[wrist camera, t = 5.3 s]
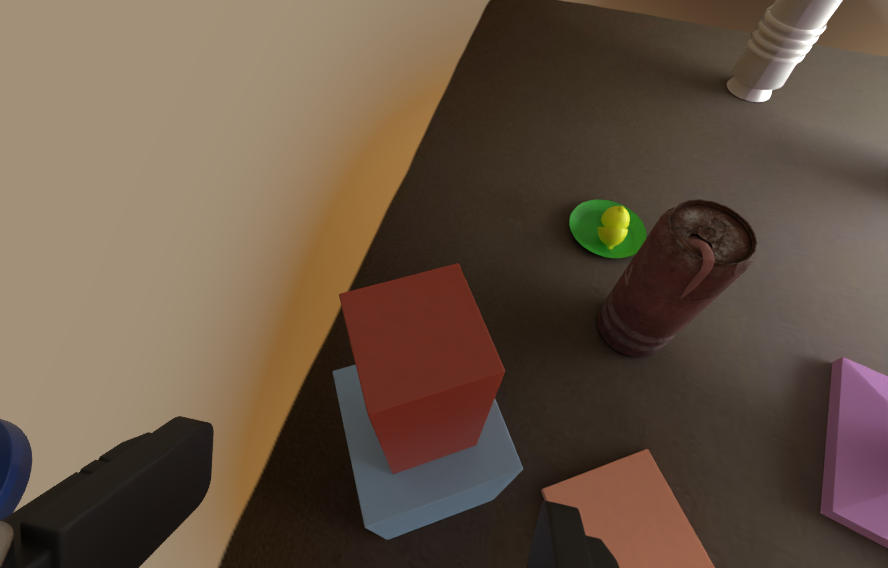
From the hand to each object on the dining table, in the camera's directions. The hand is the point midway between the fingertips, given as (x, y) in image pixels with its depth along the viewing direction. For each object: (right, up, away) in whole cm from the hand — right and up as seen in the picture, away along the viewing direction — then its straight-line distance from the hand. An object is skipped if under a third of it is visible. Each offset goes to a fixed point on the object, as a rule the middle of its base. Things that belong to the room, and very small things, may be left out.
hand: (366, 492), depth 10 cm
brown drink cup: (+19, +1, +29) cm, 35 cm away
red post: (+1, -2, +12) cm, 13 cm away
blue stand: (0, -9, +22) cm, 24 cm away
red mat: (+15, -13, +20) cm, 28 cm away
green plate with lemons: (+19, +10, +36) cm, 42 cm away
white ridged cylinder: (+45, +32, +51) cm, 75 cm away
